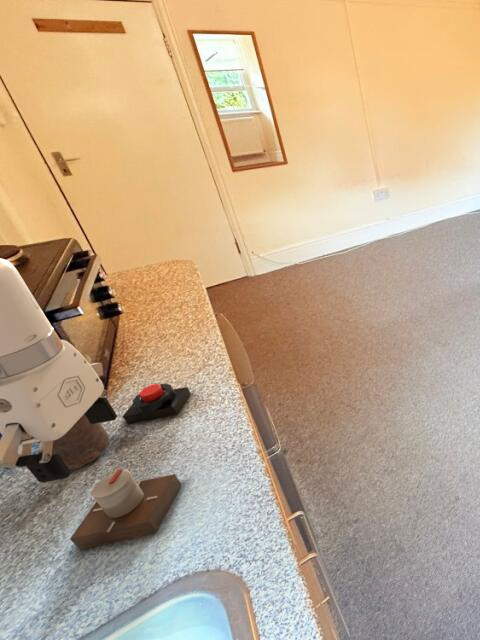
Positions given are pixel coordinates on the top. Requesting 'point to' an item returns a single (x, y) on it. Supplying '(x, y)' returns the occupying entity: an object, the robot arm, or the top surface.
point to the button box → (157, 405)
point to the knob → (118, 494)
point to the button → (151, 392)
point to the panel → (129, 516)
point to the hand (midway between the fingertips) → (82, 447)
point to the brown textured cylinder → (81, 443)
